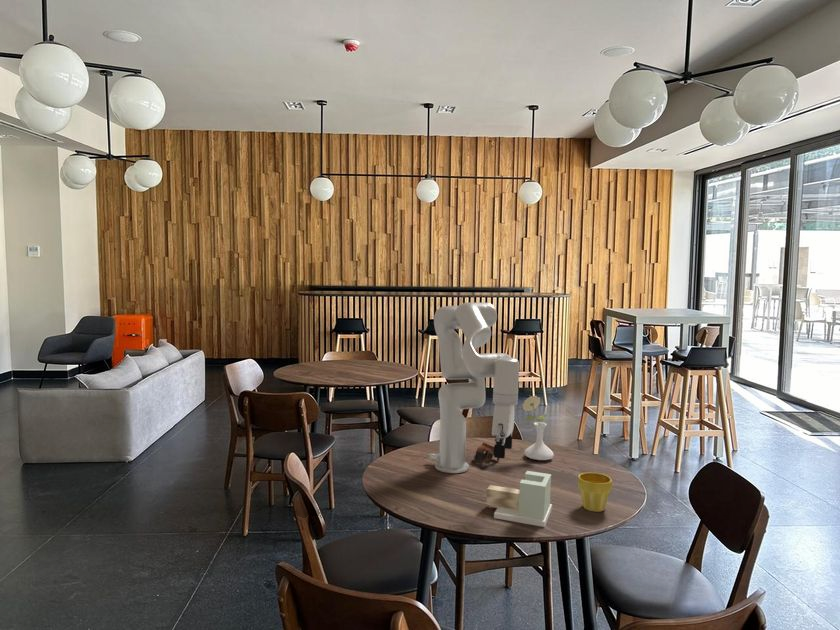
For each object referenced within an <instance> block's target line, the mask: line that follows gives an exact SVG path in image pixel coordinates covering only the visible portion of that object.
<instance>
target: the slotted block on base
mask: <svg viewBox="0 0 840 630" xmlns="http://www.w3.org/2000/svg"><path fill="white" fill-rule="evenodd" d="M551 484H552V474H550V473H545V472H538V471H532V470H531V471H530V470H526V472H525V473H524V479H521V480H520V481H519V510H516V509H510V508H504V507H498V506H497V508H496V509H495V511H494V513H493V519H498V520H504V521H509V522H514V523H519V524H525V525H532V526H537V527H541V528H543V527H544V528H545V527H546V525H547V522H548V521H549V520H548V519H549V517H550V514H551V512H552V510H553V504H552V503H551V488H552V487H551V486H552V485H551Z"/></svg>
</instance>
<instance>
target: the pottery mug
mask: <svg viewBox="0 0 840 630" xmlns="http://www.w3.org/2000/svg"><path fill="white" fill-rule="evenodd" d="M493 457H494V445H491V444H489V443H487V442H482V444H481V445H479V446H477V448H476V451H475V455H474V456H473V462H475V463H476V464H479V465H480V466H483V463H485V464H486V465H487V464H488V465H489V464H491V462H492V459H493ZM499 461H500V458H496V462H499Z"/></svg>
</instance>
